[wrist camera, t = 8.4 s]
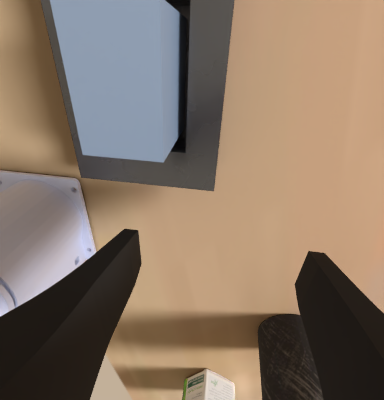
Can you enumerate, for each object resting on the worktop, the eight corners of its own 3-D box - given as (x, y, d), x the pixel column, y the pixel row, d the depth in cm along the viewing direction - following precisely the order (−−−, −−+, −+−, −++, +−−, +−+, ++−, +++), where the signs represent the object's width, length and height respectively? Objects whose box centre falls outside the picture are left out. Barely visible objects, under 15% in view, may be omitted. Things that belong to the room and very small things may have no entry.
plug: (183, 128, 16) (163, 162, 11) (127, 124, 17) (82, 154, 11) (186, 18, 13) (159, -4, 8) (116, 15, 13) (48, -8, 8)
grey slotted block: (216, 168, 18) (213, 196, 15) (104, 157, 19) (75, 182, 15) (264, -281, 9) (289, -519, 5) (36, -264, 10) (-83, -460, 6)
